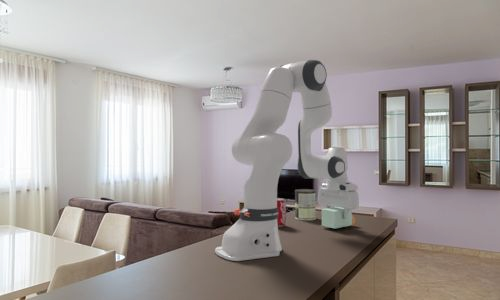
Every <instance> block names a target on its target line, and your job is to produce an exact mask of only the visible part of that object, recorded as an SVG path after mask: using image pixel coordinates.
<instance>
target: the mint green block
mask: <svg viewBox="0 0 500 300" xmlns="http://www.w3.org/2000/svg"><path fill="white" fill-rule="evenodd" d="M352 212H353V210H352V209H350V212H349V214H348V219H343V218H342V217H343V216H342V215H343V214H344V213H345V211H344V208H340V207H334V206H331V207H330V208H325V207H324V208H321V211H320V213H321V227H322V226H323V227H326V228H331V229H340V228H343V227H351V226H350V225H352V216H353V213H352Z"/></svg>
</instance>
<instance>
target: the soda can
mask: <svg viewBox="0 0 500 300" xmlns="http://www.w3.org/2000/svg"><path fill="white" fill-rule="evenodd" d="M277 207H278V220H277V225H278V228H283V227H284V226H286V223H287V204H286V201H285V198H282V197H281V198H280V197H277Z"/></svg>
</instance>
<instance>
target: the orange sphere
mask: <svg viewBox="0 0 500 300" xmlns="http://www.w3.org/2000/svg"><path fill="white" fill-rule="evenodd" d="M355 223H356V218H355V217H354V216H353V215H352V225H350V226H349V227H353V226H354V225H355Z"/></svg>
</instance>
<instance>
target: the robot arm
mask: <svg viewBox="0 0 500 300" xmlns="http://www.w3.org/2000/svg"><path fill="white" fill-rule="evenodd" d="M327 75H328V74H327V69H326V67H325V64H323V63H322V61H320V60H317V59H308V60H305V61H304V60H303V61H294V62H291V63H287V64H284V65H283V64H282V65H280V66H275V67H273V68H271V69H270V70H269V71H268V73H267V75H266V77H265V78H264V81H263V83H262V86H261V89H260V93H259V96H258V99H257V102H256V105H255V109H254V111H253V114H252V116H251V118H250V120H249V122H248V124H247V125H246V127H245V128H244V130H243V131H242V133H241V134H240V135H239V136H238V137H237V138H236V139H235V140H234V141H233V143H232V146H231V154H232V156H233V159H235V160H236V161H237V162H238V163H240V164H243V165H244V166H245V165H246V166H252V170H251V173H250V175H249V177H248V179H247V180H245V183H244V185H243V198H244V199H243V200H244V201H243V207H242V209H239V208H234V209H233V213H234V215H236V216H239V219H238V220H237V221H236V222H235V223H234V224H233V225H231V226H230V227H229V228H228V229H227V230H226V231H225V232H224V233H223V236H222V239H221V240H222V241H221V246H217V247H215V250H214V253H215V254H216V255H217V256H218V257H221V258H223V259H225V260H228V261H232V262H233V261H235V262H240V261H248V260H249V261H250V260H256V259H264V258H273V257H279V256H280V255H281V254H280V252H282V250H283V248H282V244H281V241H280V235H279V227H278V225H277V220H278V207H277V198H278V184H279V178H280V176H281V174H282V173H281V172H282V170H283V168H284V166H286V164H287V163H288V162H289V161H290V160H291V157H292V155H293V144H292V141H291V140H290V138H289V137H287V136H286V135H285V134H281V133H277V131H278V129H279V128H280V127H282V126H283V125H284V123H285V122H286V119H287V116H288V112H289V108H290V105H291V102H292V101H291V100H292V97H293V93H300V95H301V104H302V117H301V119H300V120H299V122H298V127H297V146H298V148H297V150H298V151H297V152H298V153H297V154H298V160H297V171H298V173H299V175H300V176H301V177H302V178H303V179H306V180H307V179H308V180H309V179H320V180H321V179H323V180H324V179H326V183H322V184H319V187H318V188H319V189H318V194H317V202H318V204H319V205H322V206H324V209H325V208H332V207H340V208H344V211H345V213H344V214H343V215H342V216H343V217H342V218H343V219H348V214H349V212H350V209H352V211H353V210H357V209H358V208H359V203H360V201H359V200H360V199H359V193H358V189H359V187H358V185H357V184H355V183H352V182H351V181H349V180H348V178H349V177H348V170H349V169H348V166H349V165H348V154H347V151H346V149H345V148H342V147H335V146H334V147H333V146H332V147H329V148H328V150H327V153H326V154H325V155H324V154H323V155H314V154H312V148H311V147H312V143H311V138H312V137H311V136H312V133H314V132H315V131H316V130H318V129H320V128H323V127H324V126H325V125H327V124H328V123H329V122H330V120H331V118H332V115H333V114H332V113H333V110H332V102H331V98H330V92H329V89H328V87H327V83H326V82H327Z"/></svg>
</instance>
